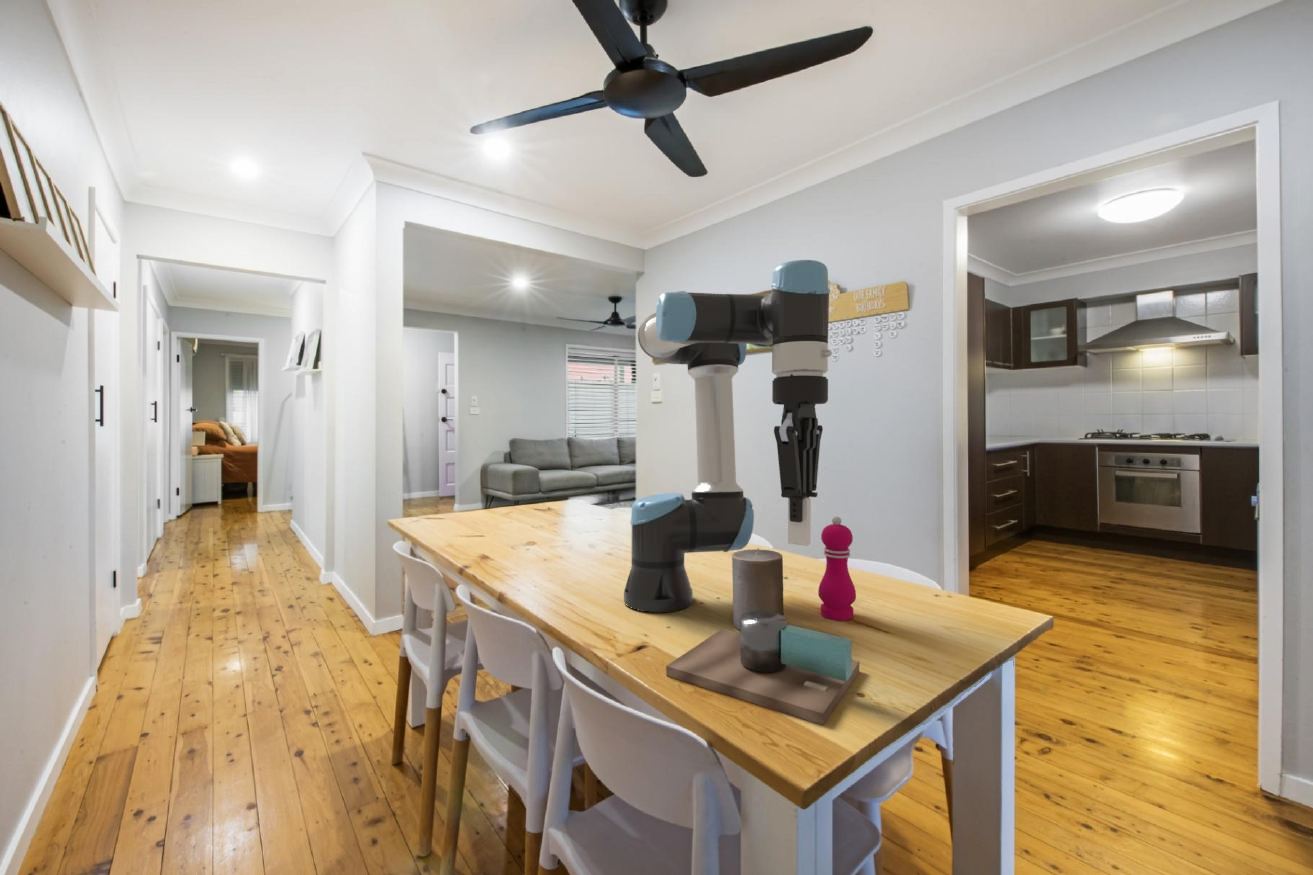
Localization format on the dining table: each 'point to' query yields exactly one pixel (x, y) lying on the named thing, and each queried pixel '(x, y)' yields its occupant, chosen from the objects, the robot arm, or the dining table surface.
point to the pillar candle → (757, 582)
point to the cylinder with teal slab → (791, 647)
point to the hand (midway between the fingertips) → (799, 543)
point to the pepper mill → (837, 573)
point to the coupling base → (759, 679)
